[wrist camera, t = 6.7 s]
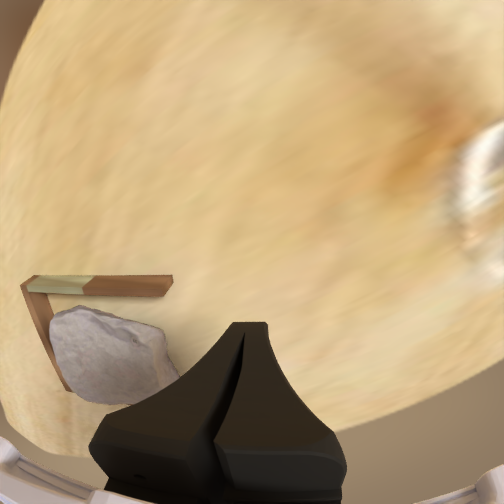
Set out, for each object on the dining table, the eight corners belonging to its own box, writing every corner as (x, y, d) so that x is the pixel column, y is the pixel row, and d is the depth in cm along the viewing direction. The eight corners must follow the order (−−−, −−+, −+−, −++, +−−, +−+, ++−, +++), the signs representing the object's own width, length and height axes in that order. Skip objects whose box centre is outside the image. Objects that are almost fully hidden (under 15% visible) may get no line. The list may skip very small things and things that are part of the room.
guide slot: (199, 396, 27) (194, 413, 25) (75, 378, 29) (66, 390, 27) (172, 275, 23) (161, 288, 20) (33, 275, 24) (19, 285, 22)
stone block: (65, 296, 27) (88, 382, 29) (36, 311, 22) (66, 404, 24) (170, 295, 26) (188, 392, 28) (150, 314, 21) (174, 422, 23)
